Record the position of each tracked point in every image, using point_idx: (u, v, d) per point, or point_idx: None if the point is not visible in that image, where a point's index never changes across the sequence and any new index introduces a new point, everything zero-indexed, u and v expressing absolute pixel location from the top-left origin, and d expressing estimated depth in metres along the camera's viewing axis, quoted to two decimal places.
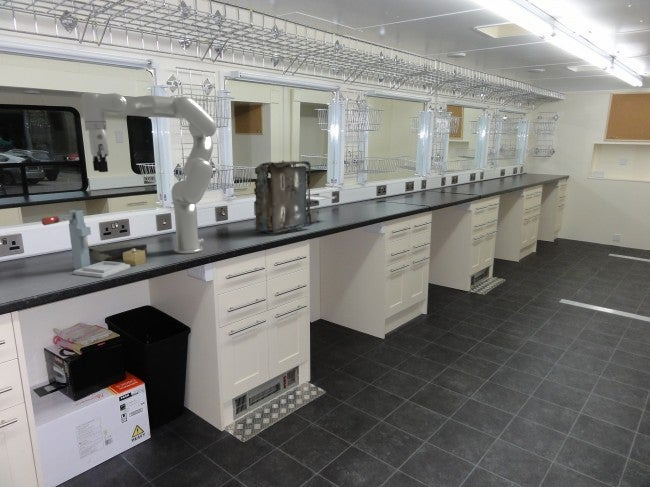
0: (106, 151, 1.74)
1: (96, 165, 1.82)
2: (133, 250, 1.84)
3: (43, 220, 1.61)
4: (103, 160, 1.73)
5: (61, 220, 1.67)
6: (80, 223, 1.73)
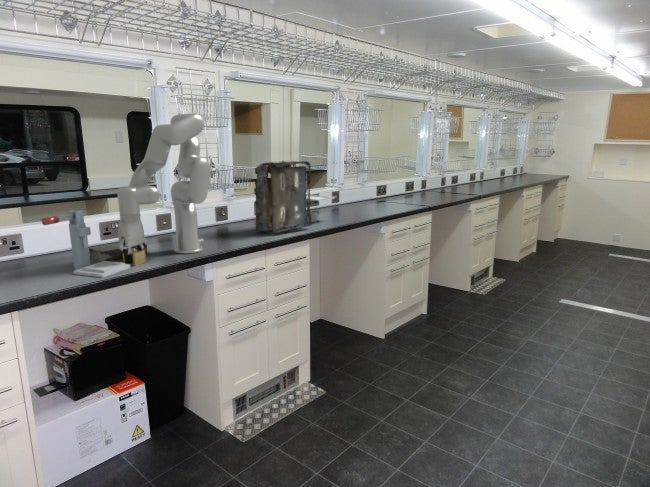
0: None
1: None
2: (133, 250, 1.84)
3: (43, 220, 1.61)
4: None
5: (61, 220, 1.67)
6: (80, 223, 1.73)
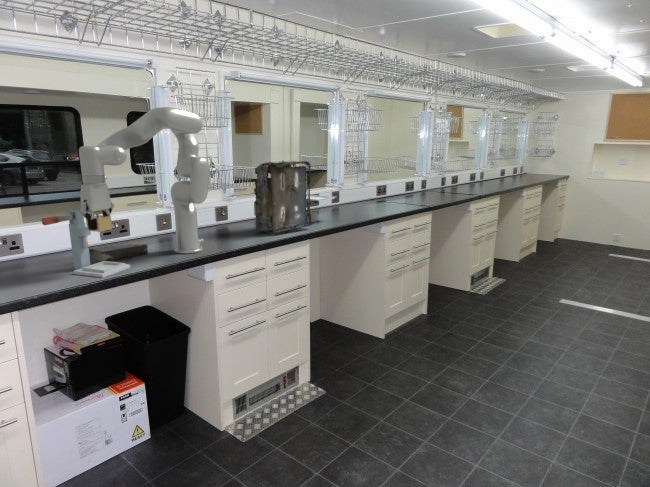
0: None
1: None
2: (97, 215, 1.69)
3: (43, 220, 1.61)
4: None
5: (61, 220, 1.67)
6: (80, 223, 1.73)
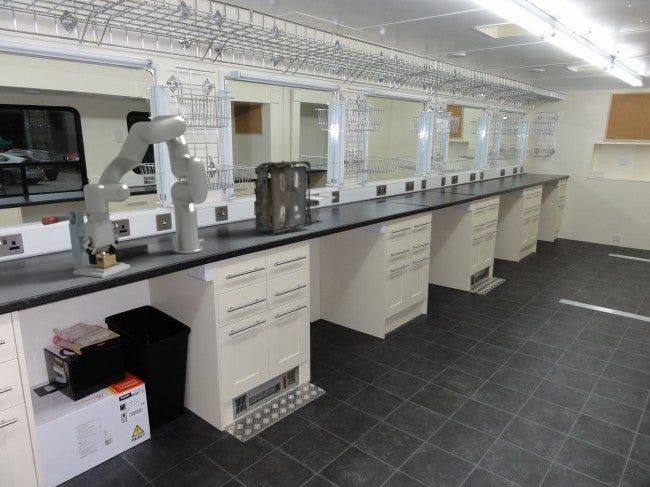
0: None
1: None
2: (102, 254, 1.73)
3: (43, 220, 1.61)
4: None
5: (61, 220, 1.67)
6: (80, 223, 1.73)
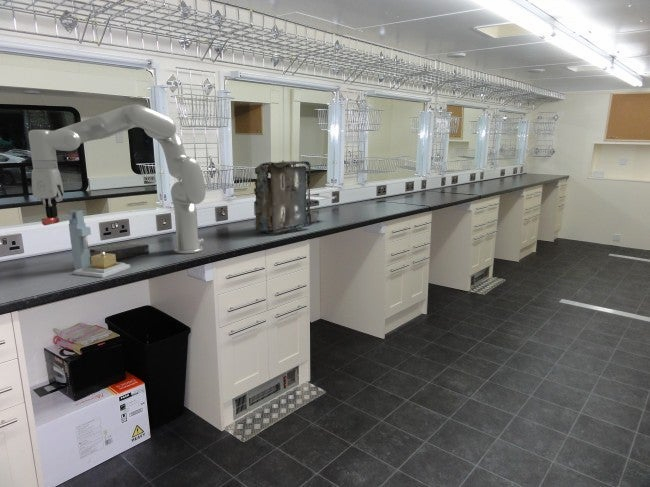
0: None
1: None
2: (102, 254, 1.73)
3: (43, 220, 1.61)
4: None
5: (61, 220, 1.67)
6: (80, 223, 1.73)
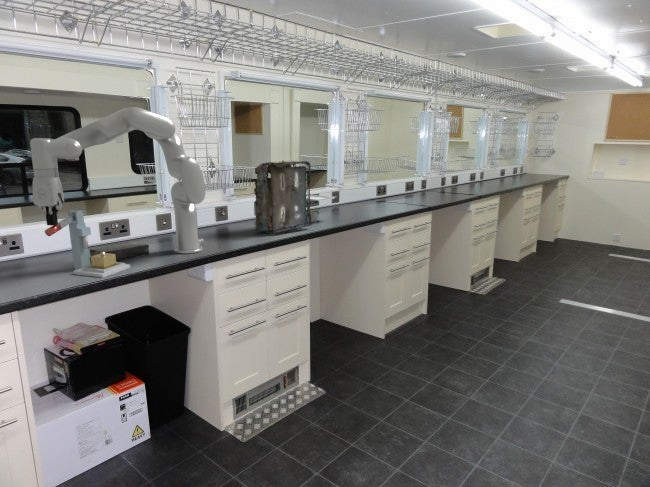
0: None
1: None
2: (102, 254, 1.73)
3: (46, 231, 1.63)
4: None
5: (63, 226, 1.68)
6: (80, 223, 1.73)
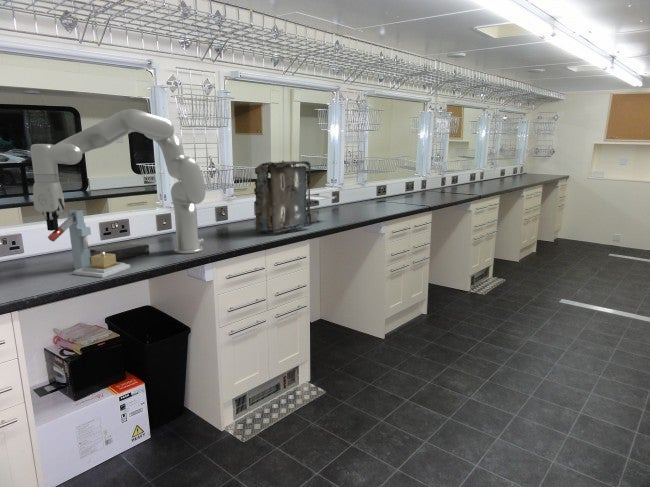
0: None
1: None
2: (102, 254, 1.73)
3: (49, 237, 1.64)
4: None
5: (65, 229, 1.69)
6: (80, 223, 1.73)
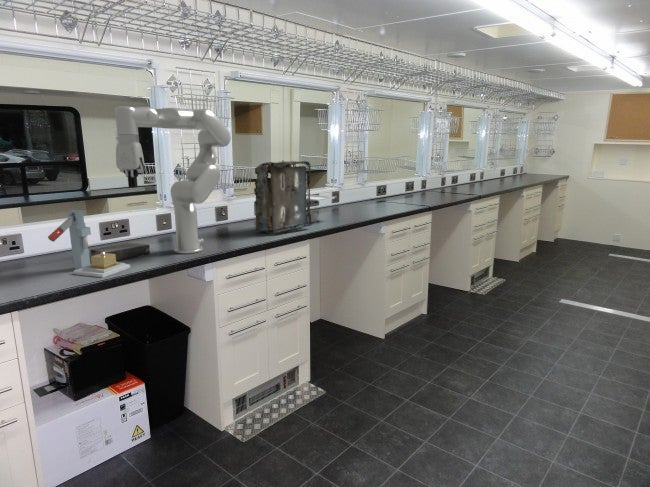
0: None
1: None
2: (102, 254, 1.73)
3: (49, 237, 1.64)
4: None
5: (65, 229, 1.69)
6: (80, 223, 1.73)
